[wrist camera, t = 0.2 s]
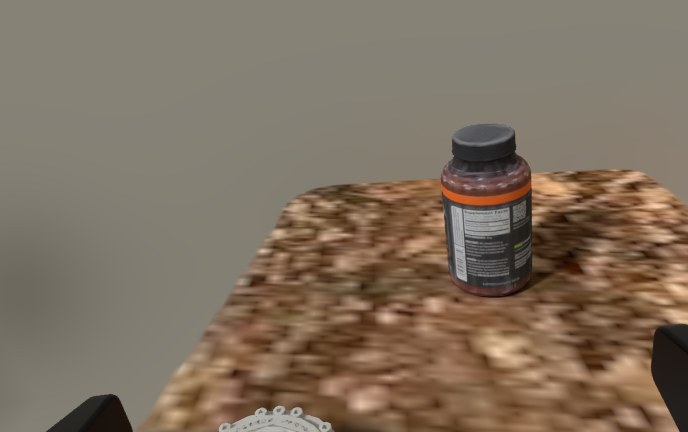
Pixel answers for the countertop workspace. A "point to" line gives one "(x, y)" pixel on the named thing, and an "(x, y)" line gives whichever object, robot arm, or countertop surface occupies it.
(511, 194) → the supplement bottle
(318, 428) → the mechanical component
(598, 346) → the countertop surface
